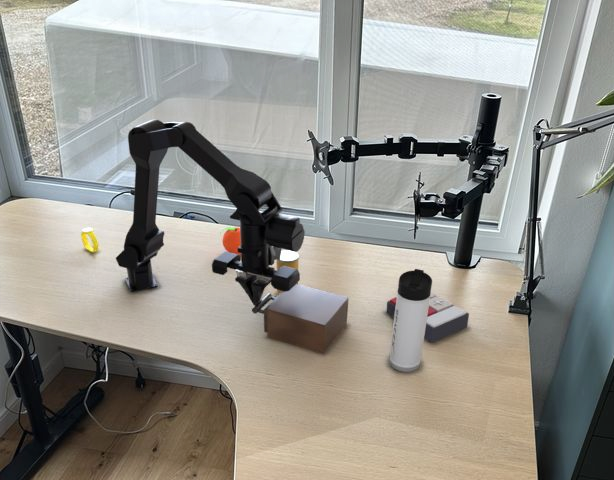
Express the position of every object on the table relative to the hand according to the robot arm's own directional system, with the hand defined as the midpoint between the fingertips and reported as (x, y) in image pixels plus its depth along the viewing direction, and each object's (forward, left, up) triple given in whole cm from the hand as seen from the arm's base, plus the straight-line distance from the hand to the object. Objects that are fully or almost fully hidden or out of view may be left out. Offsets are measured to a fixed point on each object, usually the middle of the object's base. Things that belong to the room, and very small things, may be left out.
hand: (256, 304), depth 145 cm
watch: (-46, -28, -3) cm, 54 cm away
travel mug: (+28, +22, -3) cm, 35 cm away
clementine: (-31, +6, -3) cm, 32 cm away
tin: (-6, +10, -3) cm, 12 cm away
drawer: (+7, +6, -2) cm, 9 cm away
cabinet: (+10, +8, -3) cm, 13 cm away
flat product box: (+16, +34, -3) cm, 38 cm away
